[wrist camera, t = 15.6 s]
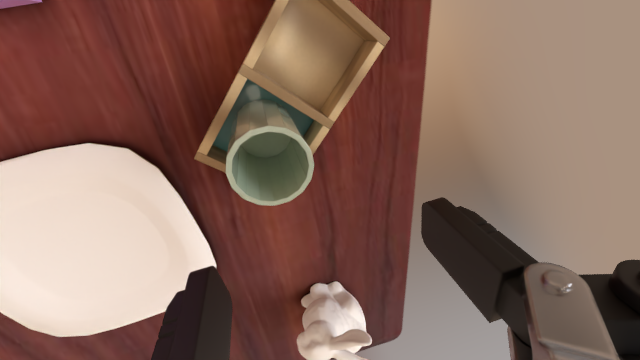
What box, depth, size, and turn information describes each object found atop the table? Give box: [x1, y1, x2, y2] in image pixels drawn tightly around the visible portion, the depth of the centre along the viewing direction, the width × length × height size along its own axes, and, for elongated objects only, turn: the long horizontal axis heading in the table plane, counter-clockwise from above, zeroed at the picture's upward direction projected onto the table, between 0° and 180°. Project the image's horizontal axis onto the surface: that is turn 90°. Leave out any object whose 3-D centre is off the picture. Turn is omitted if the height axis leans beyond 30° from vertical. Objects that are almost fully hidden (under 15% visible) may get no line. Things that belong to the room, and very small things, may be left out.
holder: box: [194, 0, 390, 173], centre depth 24 cm, size 17×9×3 cm, turn 146°
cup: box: [226, 99, 314, 206], centre depth 23 cm, size 6×6×9 cm
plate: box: [0, 143, 217, 337], centre depth 28 cm, size 22×22×2 cm
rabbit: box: [297, 281, 372, 360], centre depth 36 cm, size 12×9×12 cm
